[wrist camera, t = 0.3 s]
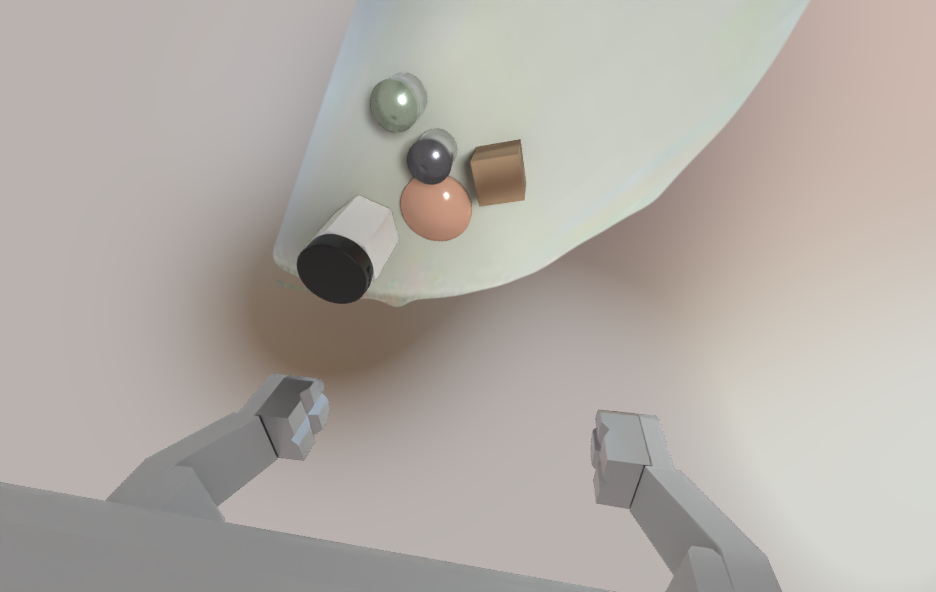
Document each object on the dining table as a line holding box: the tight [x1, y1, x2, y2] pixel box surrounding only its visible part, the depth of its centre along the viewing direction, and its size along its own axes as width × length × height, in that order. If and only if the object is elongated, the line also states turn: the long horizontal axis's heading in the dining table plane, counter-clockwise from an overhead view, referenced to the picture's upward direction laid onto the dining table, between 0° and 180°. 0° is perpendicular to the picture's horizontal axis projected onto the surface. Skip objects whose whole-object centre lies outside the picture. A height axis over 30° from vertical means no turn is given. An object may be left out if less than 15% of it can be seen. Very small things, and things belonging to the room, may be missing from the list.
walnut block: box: [470, 139, 526, 206], centre depth 44 cm, size 5×5×5 cm
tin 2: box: [407, 128, 457, 185], centre depth 44 cm, size 5×5×5 cm
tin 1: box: [370, 72, 427, 132], centre depth 41 cm, size 5×5×5 cm
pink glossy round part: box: [401, 176, 472, 241], centre depth 50 cm, size 9×9×1 cm
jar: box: [297, 195, 399, 304], centre depth 49 cm, size 9×8×12 cm
